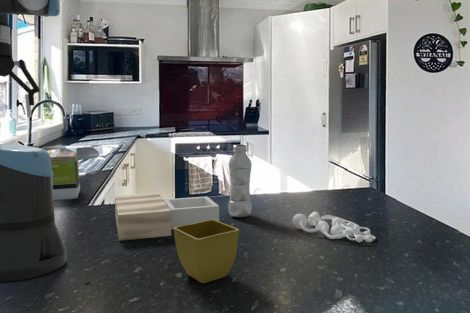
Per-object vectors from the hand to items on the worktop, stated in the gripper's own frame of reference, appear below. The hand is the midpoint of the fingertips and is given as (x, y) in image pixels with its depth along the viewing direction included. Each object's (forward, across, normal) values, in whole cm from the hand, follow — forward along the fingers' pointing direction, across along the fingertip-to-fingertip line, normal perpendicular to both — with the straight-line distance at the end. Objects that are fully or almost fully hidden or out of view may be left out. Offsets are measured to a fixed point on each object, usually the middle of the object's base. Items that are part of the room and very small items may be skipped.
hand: (3, 118), depth 118 cm
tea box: (+27, -12, -21) cm, 36 cm away
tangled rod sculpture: (+33, -79, +46) cm, 97 cm away
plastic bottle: (+31, -62, +25) cm, 74 cm away
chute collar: (+30, -48, +26) cm, 62 cm away
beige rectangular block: (+30, -35, +26) cm, 53 cm away
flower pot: (+32, -43, +63) cm, 83 cm away
